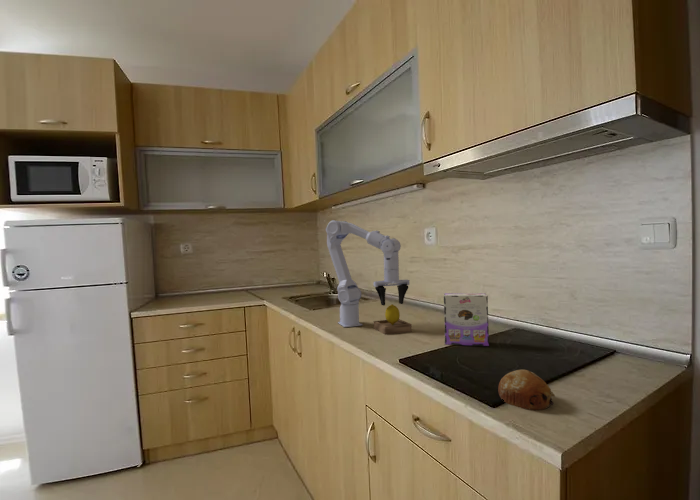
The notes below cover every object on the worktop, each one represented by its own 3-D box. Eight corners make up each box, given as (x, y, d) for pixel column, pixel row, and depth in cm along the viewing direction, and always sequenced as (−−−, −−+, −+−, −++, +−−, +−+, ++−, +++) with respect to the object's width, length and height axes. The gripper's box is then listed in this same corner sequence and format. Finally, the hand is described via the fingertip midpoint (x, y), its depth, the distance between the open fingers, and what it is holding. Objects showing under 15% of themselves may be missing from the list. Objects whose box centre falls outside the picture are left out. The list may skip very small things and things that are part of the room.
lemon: (387, 326, 137) (386, 305, 137) (384, 323, 142) (383, 303, 142) (401, 326, 137) (401, 305, 137) (397, 322, 143) (397, 302, 143)
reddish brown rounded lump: (527, 406, 81) (513, 369, 84) (569, 402, 73) (552, 361, 76) (497, 416, 76) (484, 377, 79) (538, 413, 68) (521, 370, 71)
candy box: (487, 342, 120) (486, 292, 120) (489, 346, 115) (488, 295, 114) (444, 340, 124) (443, 292, 124) (444, 344, 118) (443, 294, 118)
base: (373, 328, 144) (373, 321, 144) (398, 325, 147) (398, 318, 147) (385, 334, 133) (385, 326, 133) (411, 331, 137) (411, 324, 137)
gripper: (378, 270, 134) (379, 307, 134) (412, 269, 139) (413, 304, 139) (371, 269, 141) (371, 304, 141) (404, 268, 145) (405, 301, 145)
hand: (392, 304), depth 140 cm, fingers open, 7 cm apart
